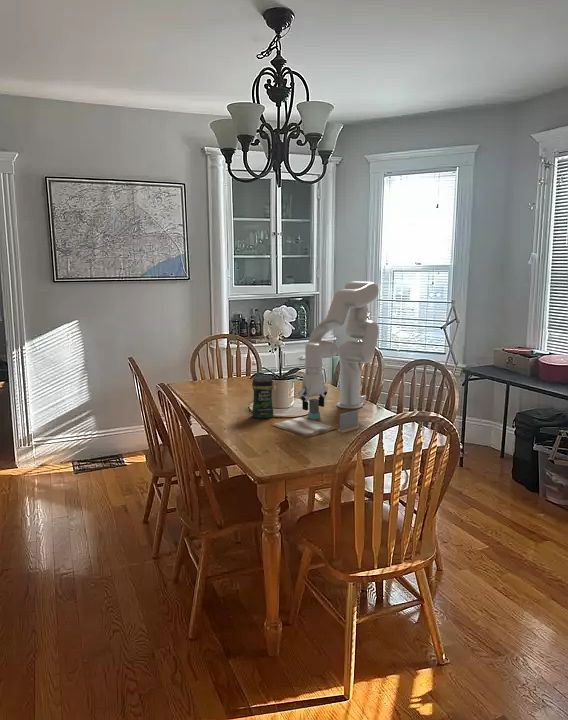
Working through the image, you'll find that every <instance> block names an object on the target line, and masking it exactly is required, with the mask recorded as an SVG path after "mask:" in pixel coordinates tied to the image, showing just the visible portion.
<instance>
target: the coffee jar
mask: <svg viewBox="0 0 568 720" xmlns="http://www.w3.org/2000/svg"><path fill="white" fill-rule="evenodd" d="M251 388H252V389H253V401H252V410H251V411H252V412H251V413H252V417H253V418H256V419H270V418H272V417H274V405H273V388H274V382H273V378H272V376H253V378H252V384H251Z"/></svg>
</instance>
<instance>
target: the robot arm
mask: <svg viewBox="0 0 568 720" xmlns="http://www.w3.org/2000/svg"><path fill="white" fill-rule="evenodd" d="M378 295H379V286H378V284H377V283H375V282H374V281H373V282H372V281H349V282H347V283H346V284H345V285H344V288H342V289H338V290H337V291H336V292H334V295H333V298H332V301H331V303H330V306H329V309H328V312H327V315H326V316H325V318H324V319H323V320H322V321H321V322H319V323H318V324H317V326H315V327H314V328H313V330H312V332H311V333H310V337H309V340H308V342H307V343H306V344H305V349H304V350H305V351H304V352H305V355H304V356H305V357H304V358H305V359H304V364H305V366H304V368H305V371H304V374H303V377H302V382H301V389H300V390H299V391H298V392H297V394H298V397H299V399H300V401H302V410H304V411H308V410H309V401H308V400H309V398H313V397H318V400H319V407H321V408H324V407H325V398H326V396H327V394H328V390H329V386H326V385H325V378H324V373H323V370H324V367H323V359H332V358H334V357H335V356H337V354H338V360H339V370H340V371H339V372H340V374H339V378H340V380H339V381H340V384H339V394H340V395H339V401H338V402H337V403H336V407H338V408H340V409H341V408H342V409H348V410H349V409H350V410H352V409H359V408H360V409H361V408H363V407H364V402H362V401H364V400H367V396H366V395H361V368H360V366H359V363H361V364H368V363H371V362H372V360H373V358H374V355H375V351H376V348H377V343H378V338H379V333H380V331H379V326H378V323H377V322H376V321H374V320H369V319H368V318H367V317H368V313H369V307H368V306H367V305H368V304H370V303H371V302H373V301H374V300H376V298H377V297H378ZM348 313H349V315H348ZM347 315H348V319H347V324H346V327H345V328H346V329H345V334H346V336H347V337H348V338H349V339H352V340H345V341H343V342H341V343H340V344H339V345H337V344H336V343H335V342H333V341H329V340H327V341H326V340H322V339H323V337H324V336H325V335H326V334H328V333H329V332H330V331H333V330H335V329H338V328H340V327H342V326H344V324H345V321H346V318H347ZM354 340H360V341H354ZM361 341H362V342H361Z"/></svg>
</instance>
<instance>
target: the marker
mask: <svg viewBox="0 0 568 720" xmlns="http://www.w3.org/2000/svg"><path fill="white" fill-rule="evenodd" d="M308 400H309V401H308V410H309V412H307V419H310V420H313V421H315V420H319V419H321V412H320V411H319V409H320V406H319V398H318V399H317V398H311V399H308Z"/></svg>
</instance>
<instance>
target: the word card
mask: <svg viewBox="0 0 568 720" xmlns="http://www.w3.org/2000/svg"><path fill="white" fill-rule="evenodd" d="M360 427H361V426H360V425H359V410H358V409H356V410H353V411H352V410H351V411H347V412H344V413H340V414H339V428H337V432H339V433H342V434H343V433H346V432H347V433H348V432H350V431H355V430H358V429H361V428H360Z"/></svg>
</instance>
